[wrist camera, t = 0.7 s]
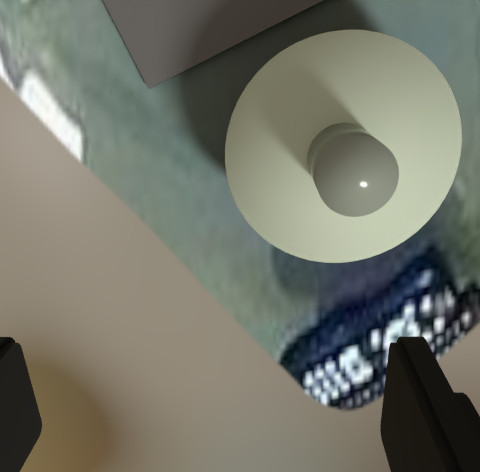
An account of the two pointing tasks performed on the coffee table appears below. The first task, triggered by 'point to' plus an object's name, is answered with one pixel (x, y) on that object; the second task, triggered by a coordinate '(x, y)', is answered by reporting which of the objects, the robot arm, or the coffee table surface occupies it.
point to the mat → (191, 29)
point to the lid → (343, 146)
